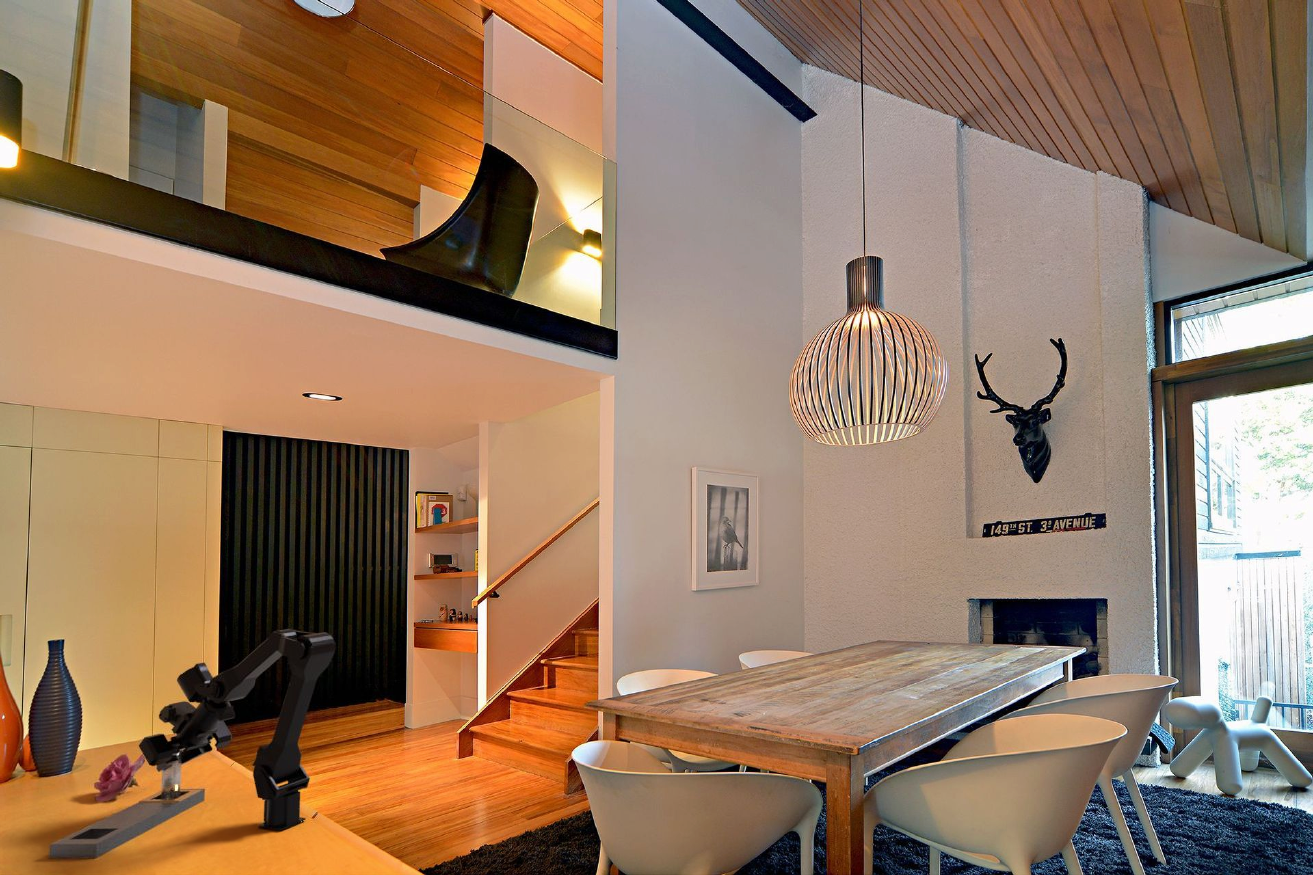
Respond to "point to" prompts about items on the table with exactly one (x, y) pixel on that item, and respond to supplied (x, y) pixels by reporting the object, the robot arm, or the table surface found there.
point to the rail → (124, 825)
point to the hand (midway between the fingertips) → (167, 767)
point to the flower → (117, 777)
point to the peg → (172, 779)
